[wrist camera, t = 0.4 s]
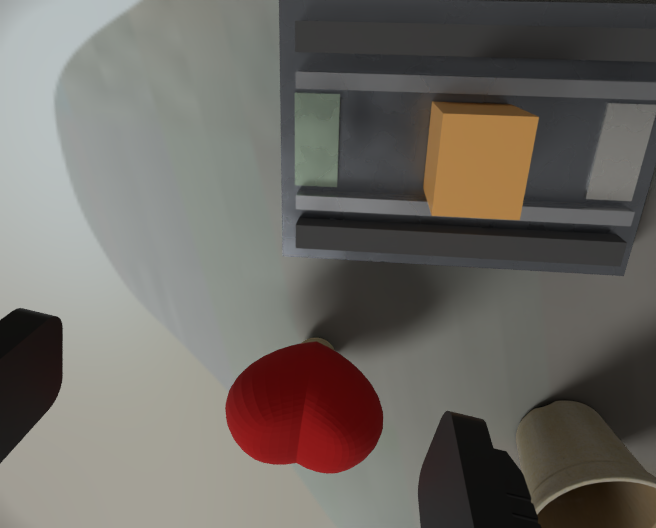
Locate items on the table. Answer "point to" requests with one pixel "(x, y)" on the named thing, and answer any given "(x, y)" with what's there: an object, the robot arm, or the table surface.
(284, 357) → the red heart figurine
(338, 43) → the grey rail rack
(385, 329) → the table surface
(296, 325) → the table surface
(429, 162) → the tan cardboard cube
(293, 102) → the panel
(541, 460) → the flower pot
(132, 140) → the table surface
